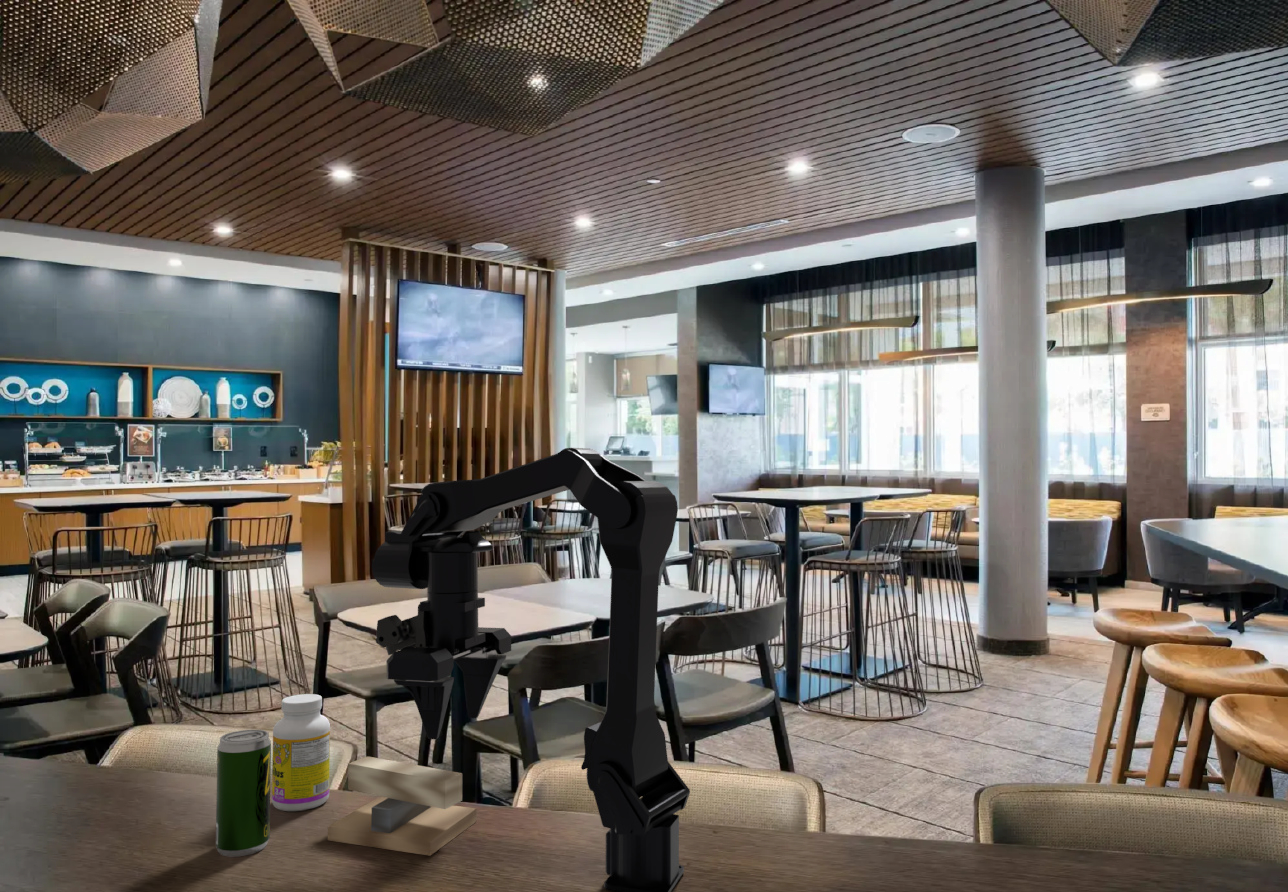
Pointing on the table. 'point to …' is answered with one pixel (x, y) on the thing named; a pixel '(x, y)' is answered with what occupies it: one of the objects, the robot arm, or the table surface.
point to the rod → (405, 782)
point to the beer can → (243, 792)
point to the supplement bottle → (301, 755)
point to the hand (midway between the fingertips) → (454, 727)
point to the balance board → (402, 826)
